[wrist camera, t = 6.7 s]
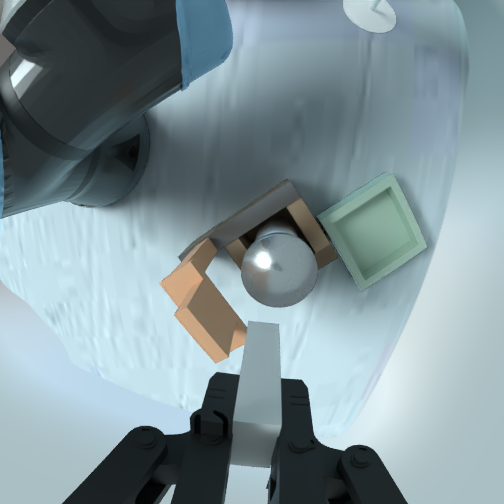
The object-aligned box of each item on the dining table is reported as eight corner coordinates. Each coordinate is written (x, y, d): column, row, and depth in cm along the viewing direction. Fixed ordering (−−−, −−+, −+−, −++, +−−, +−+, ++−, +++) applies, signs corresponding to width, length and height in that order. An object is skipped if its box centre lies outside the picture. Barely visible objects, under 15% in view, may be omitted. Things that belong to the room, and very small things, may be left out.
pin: (242, 227, 34) (225, 262, 22) (283, 200, 33) (291, 220, 20) (269, 265, 35) (268, 319, 23) (309, 240, 34) (331, 282, 22)
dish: (316, 216, 34) (320, 220, 31) (383, 172, 32) (393, 173, 29) (355, 282, 36) (361, 291, 33) (416, 240, 34) (427, 246, 31)
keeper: (190, 249, 29) (135, 310, 17) (213, 233, 29) (170, 286, 16) (232, 306, 31) (210, 394, 18) (256, 292, 30) (247, 377, 17)
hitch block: (192, 242, 36) (177, 257, 30) (286, 178, 33) (290, 180, 27) (235, 299, 38) (228, 323, 32) (327, 242, 35) (338, 257, 29)
